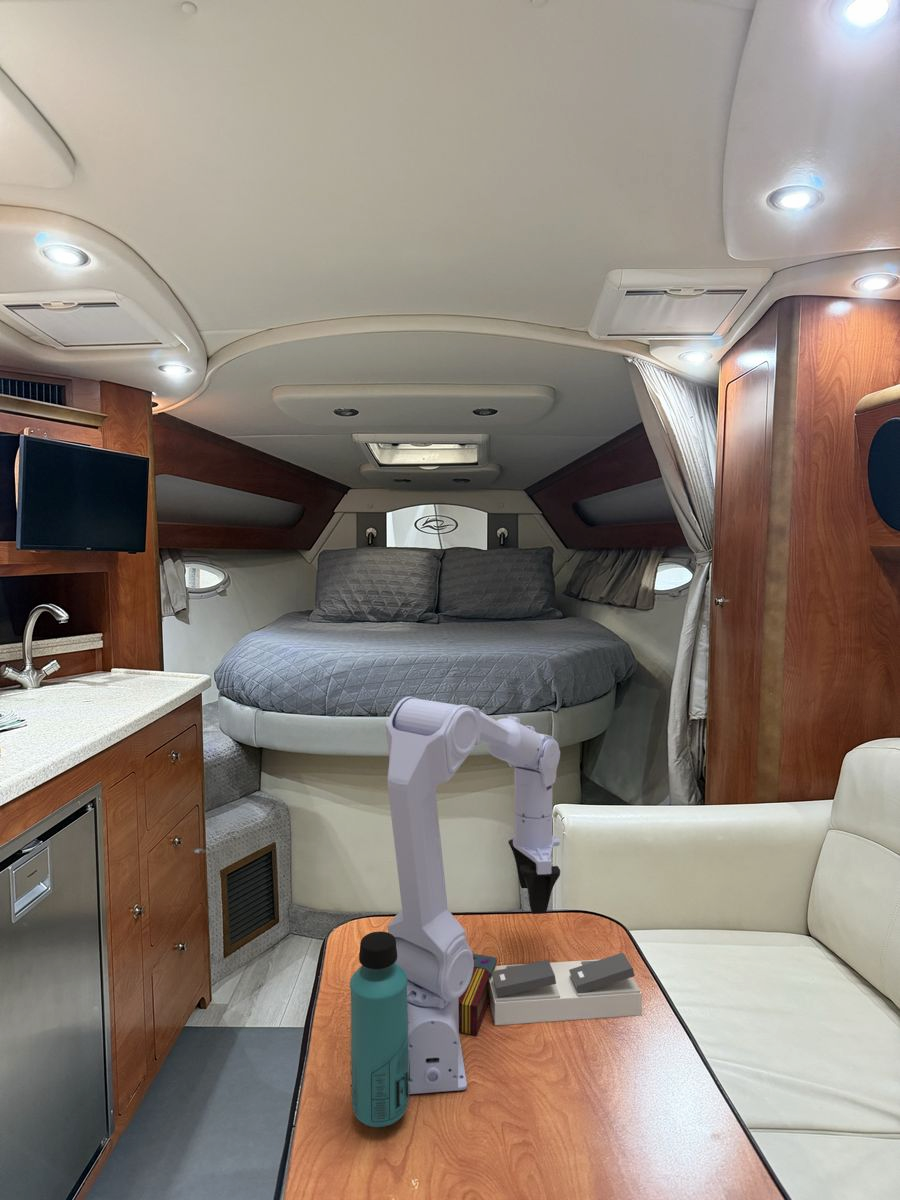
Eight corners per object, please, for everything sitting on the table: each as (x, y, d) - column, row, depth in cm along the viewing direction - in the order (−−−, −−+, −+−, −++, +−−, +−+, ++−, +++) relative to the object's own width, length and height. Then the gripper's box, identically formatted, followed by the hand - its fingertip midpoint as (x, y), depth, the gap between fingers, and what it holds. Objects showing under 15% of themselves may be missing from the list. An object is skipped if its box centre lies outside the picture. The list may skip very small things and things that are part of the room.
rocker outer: (634, 976, 88) (632, 967, 88) (578, 994, 87) (576, 985, 87) (625, 960, 91) (622, 951, 91) (571, 977, 91) (568, 969, 91)
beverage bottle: (401, 1148, 67) (400, 960, 67) (340, 1136, 69) (338, 952, 68) (417, 1098, 74) (416, 926, 73) (361, 1088, 75) (360, 919, 74)
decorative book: (477, 1041, 83) (477, 1003, 83) (361, 1016, 88) (361, 980, 88) (496, 987, 94) (497, 953, 94) (393, 967, 99) (392, 935, 99)
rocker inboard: (556, 983, 87) (554, 974, 87) (497, 996, 86) (496, 987, 86) (549, 967, 90) (548, 958, 90) (493, 979, 90) (491, 970, 89)
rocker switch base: (641, 1015, 88) (641, 991, 87) (495, 1025, 86) (495, 1001, 86) (620, 978, 96) (620, 956, 95) (485, 986, 94) (485, 964, 93)
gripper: (572, 829, 92) (572, 923, 92) (547, 794, 106) (546, 875, 107) (523, 831, 91) (523, 926, 91) (504, 795, 105) (504, 877, 106)
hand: (532, 899), depth 99 cm, fingers open, 7 cm apart
